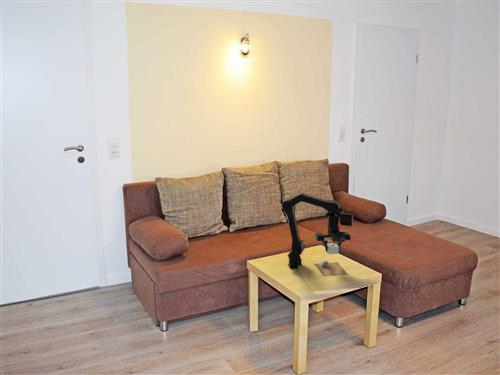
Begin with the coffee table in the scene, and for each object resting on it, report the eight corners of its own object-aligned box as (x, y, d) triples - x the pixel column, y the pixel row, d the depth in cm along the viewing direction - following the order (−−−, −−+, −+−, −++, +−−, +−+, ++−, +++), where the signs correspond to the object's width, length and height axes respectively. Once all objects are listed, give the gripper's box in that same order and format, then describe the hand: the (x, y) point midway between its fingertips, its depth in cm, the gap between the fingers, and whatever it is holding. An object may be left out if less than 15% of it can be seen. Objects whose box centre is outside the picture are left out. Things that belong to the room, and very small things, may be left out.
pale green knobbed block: (328, 254, 241) (328, 246, 241) (325, 250, 247) (325, 243, 246) (338, 253, 242) (338, 246, 241) (335, 250, 248) (335, 242, 247)
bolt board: (323, 278, 238) (323, 271, 237) (313, 265, 255) (313, 259, 254) (348, 276, 240) (348, 269, 239) (337, 264, 257) (337, 257, 256)
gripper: (320, 229, 232) (319, 257, 235) (355, 228, 235) (353, 256, 238) (314, 222, 243) (313, 250, 246) (347, 222, 245) (346, 248, 249)
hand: (331, 251), depth 245 cm, fingers closed on pale green knobbed block, 6 cm apart
